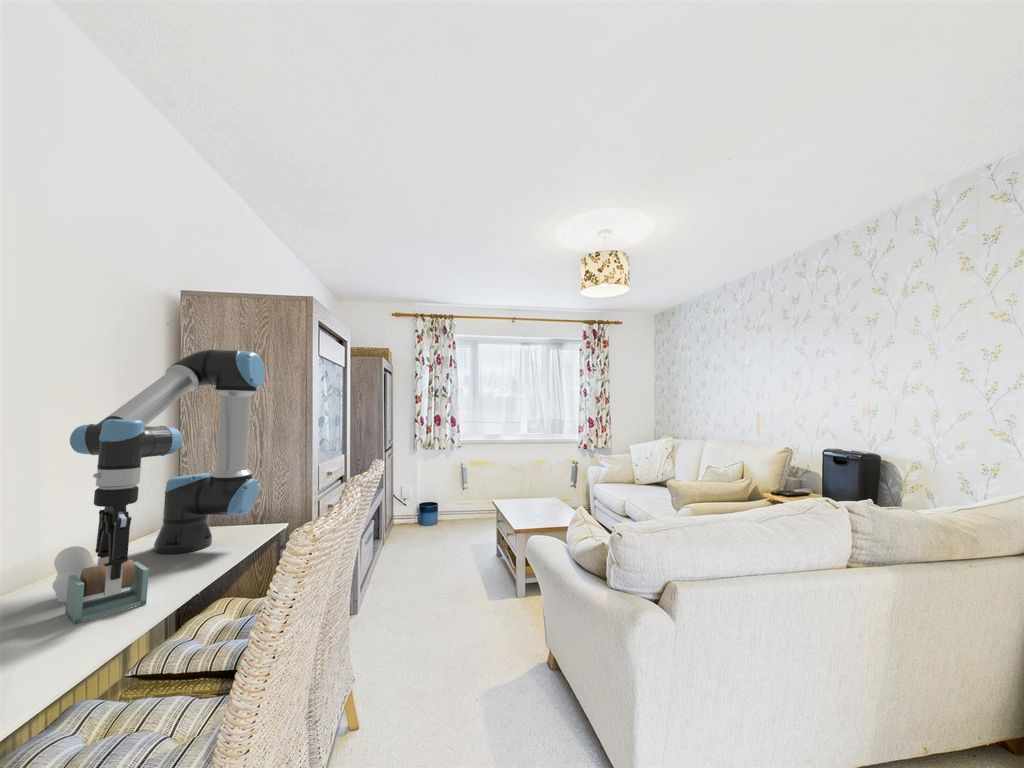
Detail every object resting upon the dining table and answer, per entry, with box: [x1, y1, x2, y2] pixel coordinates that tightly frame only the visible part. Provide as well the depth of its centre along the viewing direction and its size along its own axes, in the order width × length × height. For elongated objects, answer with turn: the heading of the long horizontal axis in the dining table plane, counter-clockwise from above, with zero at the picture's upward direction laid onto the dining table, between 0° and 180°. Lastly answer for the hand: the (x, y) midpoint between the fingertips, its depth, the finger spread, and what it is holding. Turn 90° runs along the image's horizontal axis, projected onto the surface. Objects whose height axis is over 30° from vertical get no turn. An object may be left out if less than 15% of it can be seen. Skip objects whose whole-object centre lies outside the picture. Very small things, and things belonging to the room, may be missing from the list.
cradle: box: [64, 561, 150, 625], centre depth 99 cm, size 12×8×8 cm, turn 146°
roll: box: [80, 559, 135, 597], centre depth 99 cm, size 8×6×6 cm
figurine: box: [52, 546, 96, 603], centre depth 104 cm, size 7×8×12 cm
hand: (107, 589), depth 99 cm, fingers closed on roll, 6 cm apart
